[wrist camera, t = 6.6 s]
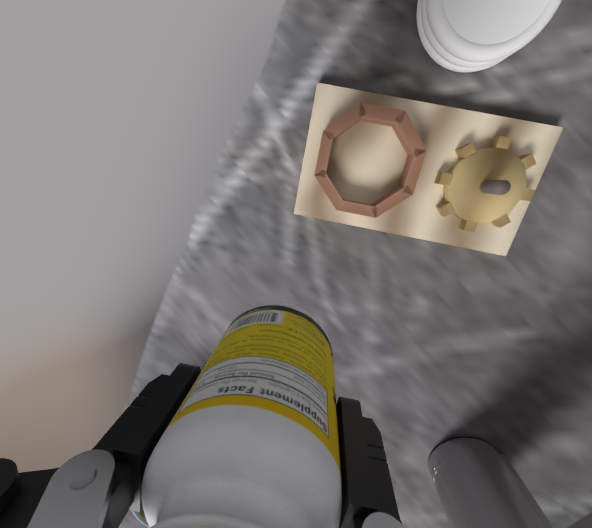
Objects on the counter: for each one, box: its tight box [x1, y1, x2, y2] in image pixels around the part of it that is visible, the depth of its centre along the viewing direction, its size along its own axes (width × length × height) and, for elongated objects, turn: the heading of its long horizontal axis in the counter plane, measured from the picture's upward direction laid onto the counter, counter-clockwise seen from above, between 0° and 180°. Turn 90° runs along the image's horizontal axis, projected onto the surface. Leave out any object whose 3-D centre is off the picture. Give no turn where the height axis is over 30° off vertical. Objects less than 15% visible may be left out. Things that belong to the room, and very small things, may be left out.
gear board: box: [294, 83, 563, 256], centre depth 25 cm, size 22×12×5 cm, turn 80°
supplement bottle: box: [141, 302, 342, 528], centre depth 9 cm, size 5×5×10 cm
